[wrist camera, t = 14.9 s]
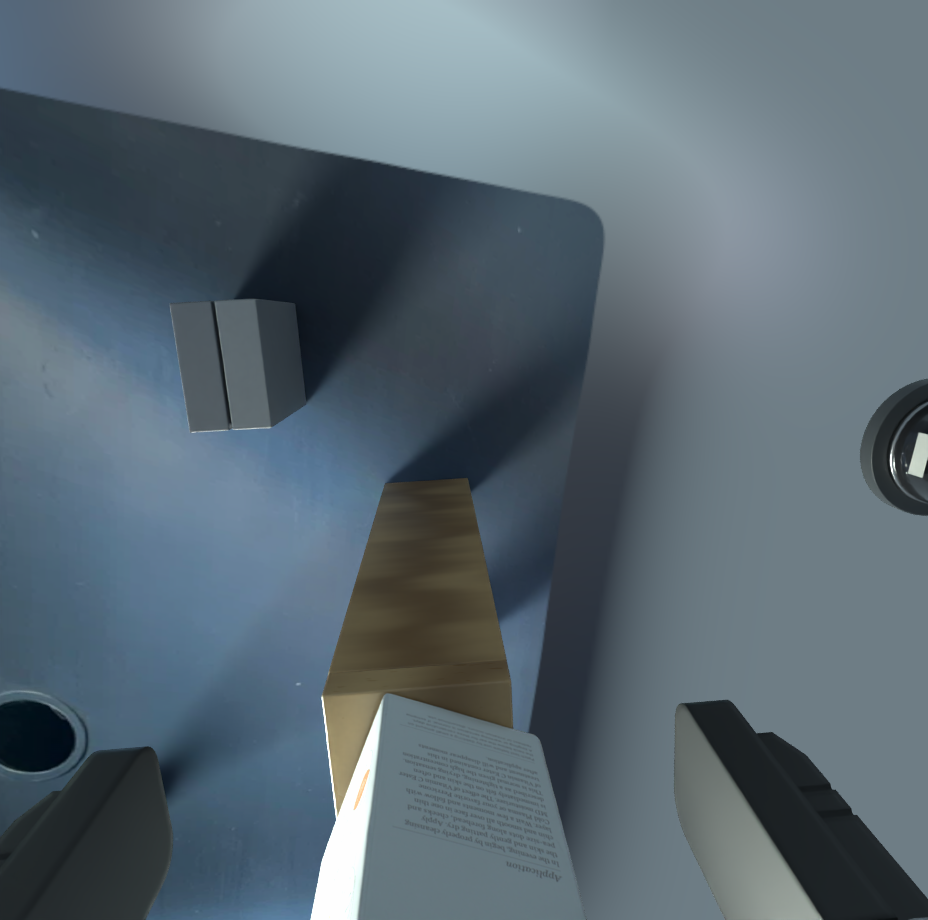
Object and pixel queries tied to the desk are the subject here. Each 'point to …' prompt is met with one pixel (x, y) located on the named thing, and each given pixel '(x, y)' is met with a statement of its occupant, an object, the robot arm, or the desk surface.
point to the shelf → (443, 686)
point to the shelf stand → (421, 585)
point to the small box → (447, 825)
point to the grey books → (238, 363)
